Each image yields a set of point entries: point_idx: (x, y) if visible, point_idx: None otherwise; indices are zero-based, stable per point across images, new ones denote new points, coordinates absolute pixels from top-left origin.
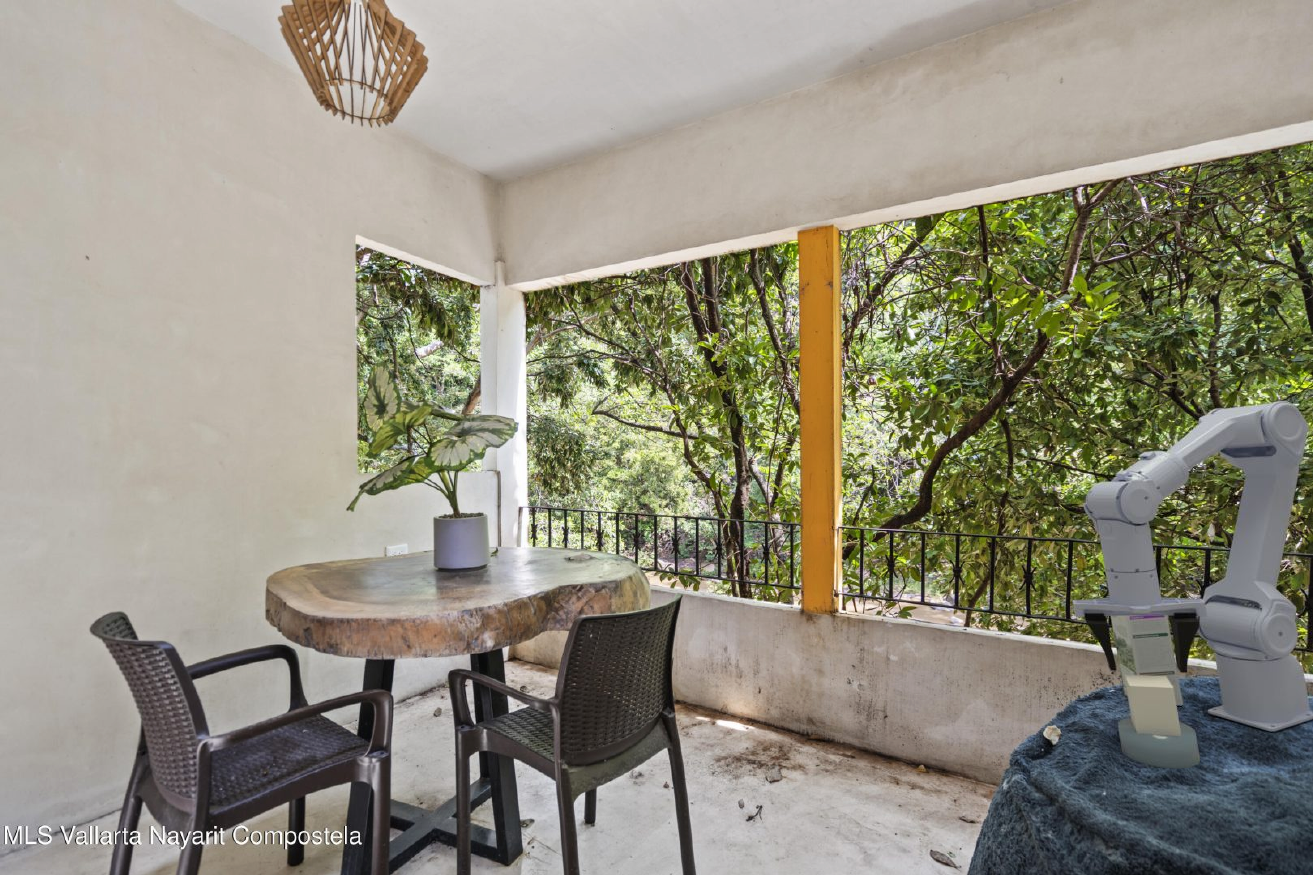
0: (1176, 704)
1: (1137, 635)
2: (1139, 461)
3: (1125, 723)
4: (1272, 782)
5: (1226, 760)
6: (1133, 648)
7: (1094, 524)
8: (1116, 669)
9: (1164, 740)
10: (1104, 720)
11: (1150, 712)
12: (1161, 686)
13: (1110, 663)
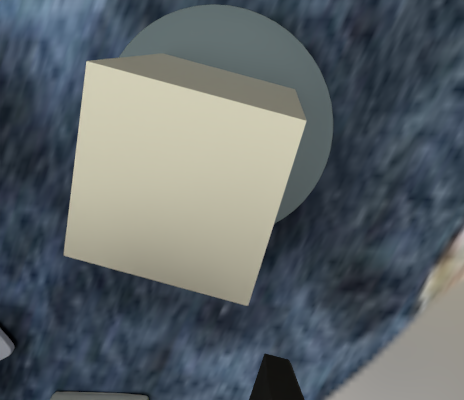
0: (67, 395)
1: None
2: None
3: (293, 180)
4: None
5: (74, 67)
6: None
7: None
8: (265, 356)
9: (232, 16)
10: (272, 337)
11: (236, 83)
12: (140, 93)
13: (294, 381)
